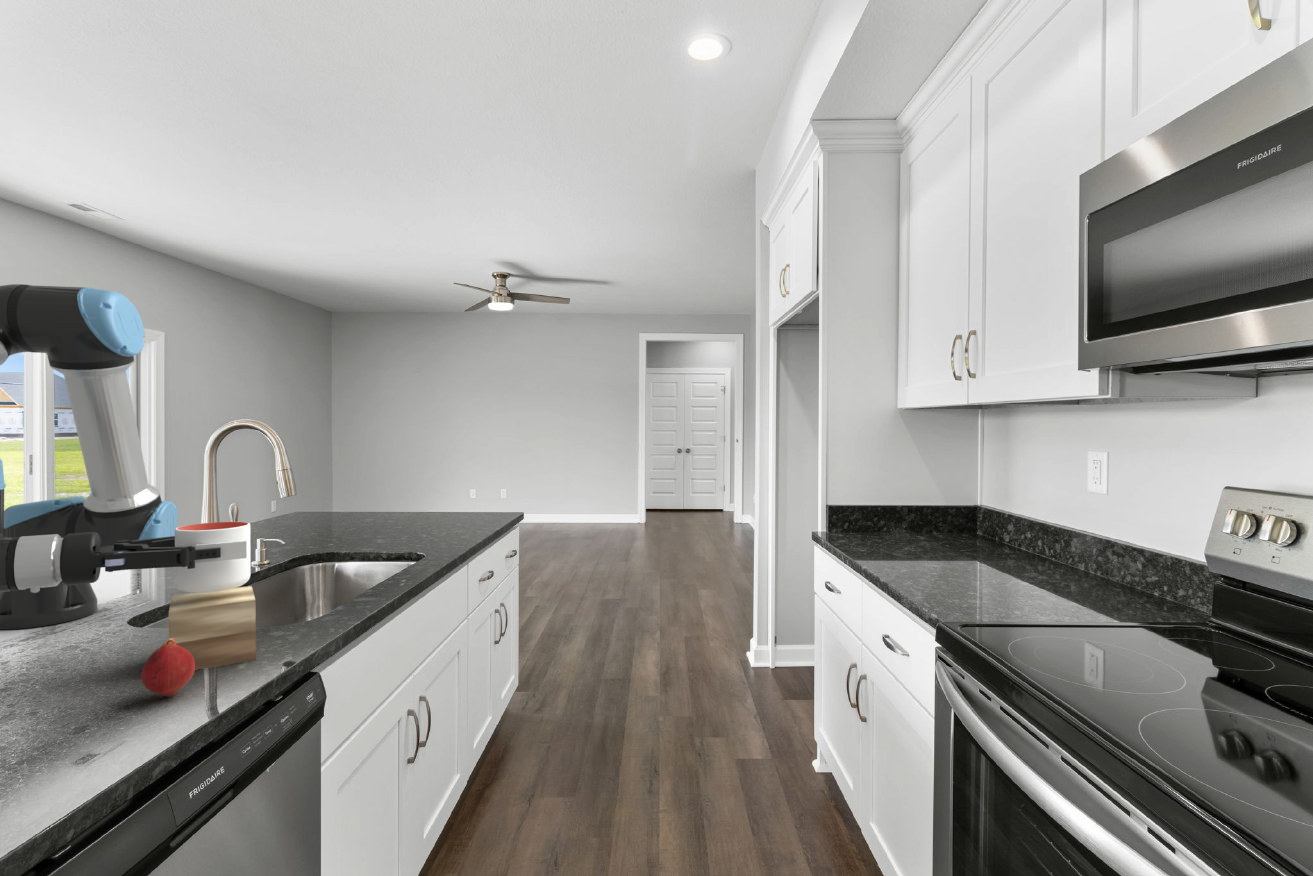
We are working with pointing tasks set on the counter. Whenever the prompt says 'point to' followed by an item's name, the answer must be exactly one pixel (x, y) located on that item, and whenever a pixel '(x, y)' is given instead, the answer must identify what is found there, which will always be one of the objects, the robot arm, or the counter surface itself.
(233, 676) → the counter surface
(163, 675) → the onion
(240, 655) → the block bottom
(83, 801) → the counter surface
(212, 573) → the cup
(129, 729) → the counter surface
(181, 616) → the block top
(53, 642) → the counter surface
